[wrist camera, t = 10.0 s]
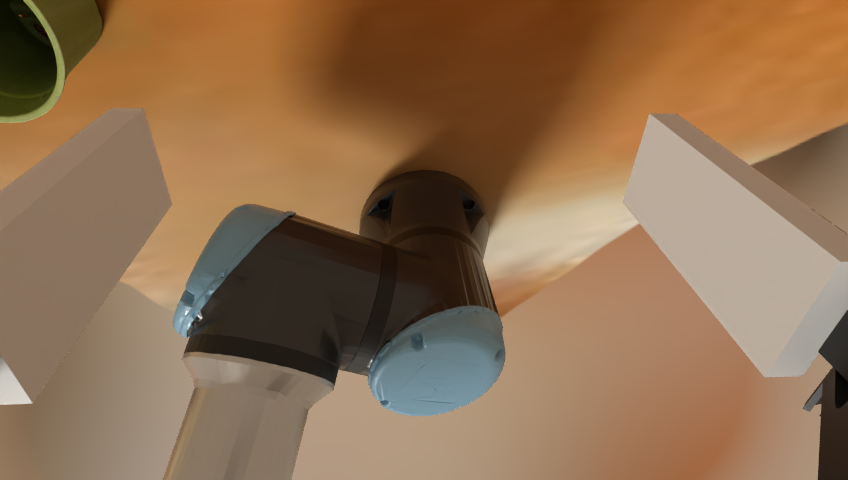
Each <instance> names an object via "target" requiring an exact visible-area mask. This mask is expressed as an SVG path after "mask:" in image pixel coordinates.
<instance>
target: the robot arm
mask: <svg viewBox="0 0 848 480" xmlns="http://www.w3.org/2000/svg"><path fill="white" fill-rule="evenodd" d="M623 203H624V205H625V206H626V207H627V208H628V210H629V211H630V212H631V213H632V215H633V216H634V217H635V218H636V219H637V221H638V222H639V223H640V224H641V226H642V227H643V228H644V229H645V231H646V232H647V233H648V234H649V235H650V236H651V238H652V239H653V240H654V242H655V243H656V244H657V245H658V246H659V248H660V249H661V250H662V251H663V253H664V254H665V255H666V256H667V258H668V259H669V260H670V261H671V263H672V264H673V265H674V266H675V267H676V269H677V270H678V271H679V272H680V274H681V275H682V276H683V277H684V279H685V280H686V281H687V282H688V284H689V285H690V286H691V287H692V288H693V290H694V291H695V292H696V293H697V295H698V296H699V297H700V298H701V300H702V301H703V302H704V303H705V304H706V305H707V307H708V308H709V309H710V311H711V312H712V313H713V314H714V316H715V317H716V318H717V319H718V320H719V322H720V323H721V324H722V325H723V327H724V328H725V329H726V330H727V332H728V333H729V334H730V335H731V337H732V338H733V339H734V340H735V341H736V343H737V344H738V345H739V346H740V348H741V349H742V350H743V351H744V352H745V354H746V355H747V356H748V357H749V359H750V360H751V361H752V362H753V363H754V365H755V366H756V367H757V368H758V370H759V371H760V372H761V373H762V375H763V376H764V377H787V376H802V375H803V374H804V373H805V371H806V370H807V369H808V367H809V366H810V364H811V363H812V362H813V360H814V359H815V357H816V356H817V355H818V353H820V354H821V355H822V356H823V357H824V358H825V359H826V360H827V361H828V362H829V363H830V364H831V365H832V366H833V368H832V369H831V370H830V372H829V373H828V374H827V375H826V377H825V378H824V379H823V381H822V382H821V383H820V384H819V386H818V387H817V389H816V390H815V391H814V392H813V394H812V395H811V396H810V398H809V399H808V400H807V402H806V404H805V406H804V407H803V409H805V410H807V411H811V409H812V408H813V407H814V405H817V404H822V407H821V414H820V416H821V426H820V447H819V468H818V480H848V235H847V233H845V232H844V231H842V230H841V229H839V228H838V227H837V226H835V225H833V224H832V223H831V222H829V221H828V220H827V219H825V218H824V217H823V216H821V215H820V214H818V213H817V212H815V211H814V210H813V209H811V208H809V207H808V206H806V205H805V204H803V203H802V202H801V201H799V200H798V199H796V198H795V197H794V196H792V195H791V194H789V193H788V192H786V191H785V190H784V189H782V188H781V187H779V186H778V185H777V184H775V183H774V182H772V181H771V180H769V179H768V178H767V177H765V176H764V175H762V174H761V173H760V172H758V171H757V170H755V169H754V168H752V167H751V166H750V165H748V164H747V163H745V162H744V161H743V160H741V159H740V158H738V157H737V156H736V155H734V154H733V153H731V152H730V151H729V150H727V149H726V148H724V147H723V146H721V145H720V144H719V143H717V142H716V141H714V140H713V139H712V138H710V137H709V136H707V135H706V134H704V133H703V132H702V131H700V130H699V129H697V128H696V127H695V126H693V125H692V124H690V123H689V122H687V121H686V120H685V119H683V118H682V117H680V116H679V115H678V114H649V117H648V121H647V124H646V127H645V130H644V134H643V137H642V140H641V143H640V147H639V150H638V153H637V156H636V159H635V163H634V166H633V169H632V172H631V176H630V179H629V182H628V185H627V189H626V192H625V195H624V198H623ZM171 205H172V202H171V199H170V195H169V192H168V189H167V185H166V182H165V179H164V175H163V172H162V168H161V165H160V162H159V158H158V155H157V152H156V148H155V145H154V142H153V138H152V135H151V131H150V128H149V125H148V121H147V118H146V115H145V111H144V108H111V109H109V110H108V111H107V112H105V113H104V114H103V115H101V116H100V117H99V118H97V119H96V120H95V121H93V122H92V123H91V124H89V125H88V126H87V127H85V128H84V129H83V130H81V131H80V132H79V133H77V134H76V135H75V136H73V137H72V138H71V139H69V140H68V141H67V142H65V143H64V144H63V145H61V146H60V147H59V148H57V149H56V150H55V151H53V152H52V153H51V154H49V155H48V156H47V157H45V158H44V159H43V160H41V161H40V162H39V163H37V164H36V165H35V166H33V167H32V168H31V169H29V170H28V171H27V172H25V173H24V174H23V175H21V176H20V177H19V178H17V179H16V180H15V181H14V182H12V183H11V184H10V185H8V186H7V187H6V188H4V189H3V190H2V191H0V405H2V404H3V405H4V404H30V403H31V404H32V403H33V402H34V401H35V400H36V398H37V397H38V395H39V394H40V392H41V391H42V390H43V388H44V387H45V385H46V384H47V382H48V381H49V380H50V378H51V377H52V375H53V374H54V372H55V371H56V370H57V368H58V367H59V365H60V364H61V362H62V361H63V360H64V358H65V357H66V355H67V354H68V352H69V351H70V350H71V348H72V346H73V345H74V344H75V342H76V341H77V340H78V338H79V337H80V335H81V334H82V332H83V331H84V329H85V328H86V327H87V325H88V324H89V322H90V321H91V320H92V318H93V317H94V315H95V314H96V312H97V311H98V309H99V308H100V307H101V305H102V304H103V302H104V301H105V300H106V298H107V297H108V295H109V293H110V292H111V291H112V289H113V288H114V287H115V285H116V283H117V282H118V281H119V279H120V278H121V277H122V275H123V274H124V272H125V271H126V269H127V268H128V267H129V265H130V264H131V262H132V261H133V259H134V258H135V257H136V255H137V254H138V252H139V251H140V249H141V248H142V247H143V245H144V244H145V242H146V241H147V239H148V238H149V237H150V235H151V234H152V232H153V231H154V229H155V228H156V227H157V225H158V224H159V222H160V221H161V219H162V218H163V217H164V215H165V214H166V212H167V211H168V209H169V208H170V207H171ZM488 235H489V227H488V219H487V216H486V213H485V209H484V206H483V204H482V202H481V200H480V198H479V196H478V195H477V194H476V192H475V191H474V190H473V189H472V188H471V187H470V186H469V185H468V184H466V183H465V182H464V181H462V180H460V179H459V178H457V177H454V176H452V175H449V174H446V173H442V172H437V171H414V172H409V173H405V174H402V175H399V176H396V177H394V178H392V179H390V180H388V181H387V182H385V183H384V184H382V185H381V186H380V187H379V188H377V189H376V190H375V191H374V192H373V194H372V195H371V196H370V197H369V199H368V200H367V202H366V204H365V206H364V208H363V211H362V214H361V219H360V230H359V235H357V234H354V233H351V232H348V231H345V230H342V229H339V228H336V227H333V226H329V225H326V224H323V223H320V222H317V221H314V220H311V219H308V218H305V217H302V216H299V215H296V213H295V212H292V211H287V212H283V211H279V210H275V209H272V208H268V207H264V206H260V205H256V204H245V205H241V206H239V207H237V208H235V209H234V210H232V211H231V212H230V213H229V214H228V215H227V216H226V217H225V218H224V219H223V220H222V222H221V223H220V224H219V226H218V227H217V229H216V230H215V232H214V233H213V235H212V236H211V238H210V239H209V241H208V243H207V244H206V246H205V248H204V250H203V251H202V253H201V255H200V257H199V259H198V261H197V263H196V264H195V266H194V268H193V270H192V272H191V274H190V277H189V279H188V281H187V284H186V290H185V291H184V293H183V295H182V297H181V299H180V301H179V303H178V305H177V308H176V311H175V315H174V319H173V327H174V329H175V331H176V332H178V333H180V334H181V336H182V337H186V338H188V337H190V338H189V341H188V344H187V346H186V349H185V352H184V354H183V357H182V360H183V362H184V364H185V366H186V368H187V370H188V371H189V373H190V375H191V377H192V379H193V382H194V387H195V388H194V391H193V394H192V397H191V399H190V402H189V405H188V408H187V411H186V414H185V417H184V420H183V422H182V425H181V428H180V431H179V434H178V437H177V440H176V443H175V445H174V448H173V451H172V454H171V457H170V460H169V462H168V466H167V468H166V471H165V474H164V477H163V480H291V479H292V475H293V471H294V467H295V463H296V459H297V455H298V451H299V447H300V443H301V439H302V435H303V431H304V426H305V423H306V419H307V415H308V411H309V409H310V408H311V407H312V406H313V405H314V404H315V403H316V402H318V401H319V400H320V399H322V398H323V397H325V396H326V395H327V394H329V393H330V392H331V391H333V390H334V386H335V381H336V377H337V373H338V370H343V371H348V372H352V373H356V374H360V375H365V376H368V382H369V386H370V389H371V391H372V393H373V396H374V397H375V399H376V400H378V401H380V403H381V405H382V406H383V407H385V408H386V409H388V410H391V411H393V412H396V413H399V414H403V415H409V416H430V415H436V414H441V413H445V412H449V411H453V410H455V409H457V408H459V407H462V406H465V405H467V404H469V403H471V402H473V401H474V400H476V399H477V398H479V397H480V396H482V395H483V394H484V393H485V392H486V391H487V390H489V388H490V387H491V386H492V385H493V384H494V383H495V382H496V380H497V379H498V377H499V376H500V373H501V371H502V369H503V366H504V362H505V347H504V341H503V336H502V328H503V326H502V322H501V320H500V319H501V318H499V315H498V311H497V308H496V304H495V301H494V297H493V294H492V291H491V287H490V284H489V280H488V277H487V274H486V270H485V267H484V264H483V258H484V254H485V250H486V245H487V241H488Z"/></svg>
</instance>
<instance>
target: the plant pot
mask: <svg viewBox="0 0 848 480" xmlns="http://www.w3.org/2000/svg"><path fill="white" fill-rule="evenodd" d="M19 15H29V16H30V17H20V16H19ZM35 24H36V25H39V26H40V27H41V28H42V29H43V30H45V31H46V32H47V34H48V37H49V38H47V37H46V36H44V35H43V34H41V33H40V32H39V31H38V30H37V29H36V28H35V26H34V25H35ZM101 32H102V18H101V16H100V13H99V11H98V8H97V5H96V2H95V0H0V122H2V123H18V122H25V121H29V120H32V119H35V118H38V117H40V116H42V115H44V114H45V113H47V112H48V111H49V110H50V109H51V108H53V106H54V105H55V104H56V103H57V101H58V100H59V98H60V96H61V94H62V92H63V89H64V84H65V80H66V78H67V75H68V74H69V73H70V72H71V70H72V69H73V68H74V67H75V66H76V65H77V64H78V63H79V62H80V61H81V60H82V59H83V57H84V56H85V55H86V54H87V53H88V52H89V51H90V50H91V49H92V48H93V47H94V45H95V44H96V43H97V42H98V40H99V38H100V36H101Z"/></svg>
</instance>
